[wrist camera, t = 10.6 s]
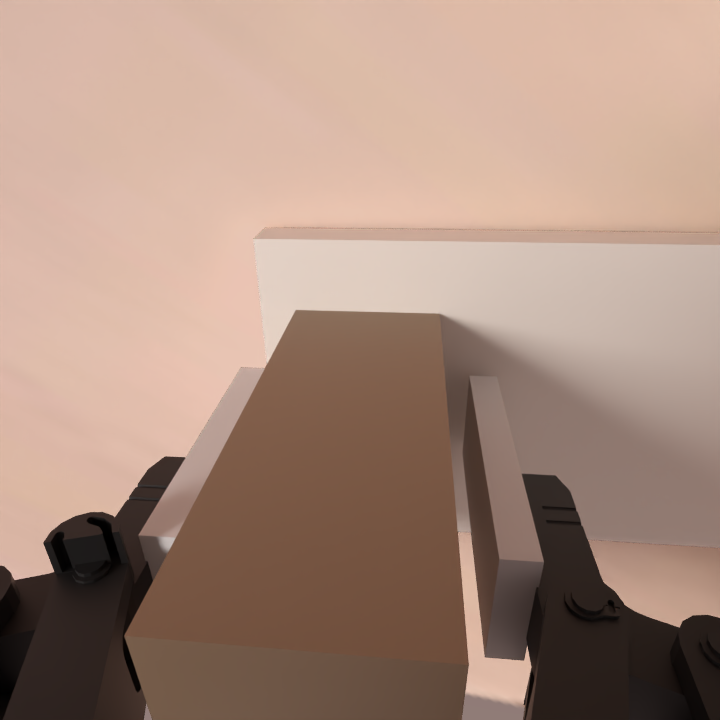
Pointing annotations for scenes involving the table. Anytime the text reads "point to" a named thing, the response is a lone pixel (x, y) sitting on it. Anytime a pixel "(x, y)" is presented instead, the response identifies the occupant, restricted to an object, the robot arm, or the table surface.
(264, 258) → the cube strip
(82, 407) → the table surface
